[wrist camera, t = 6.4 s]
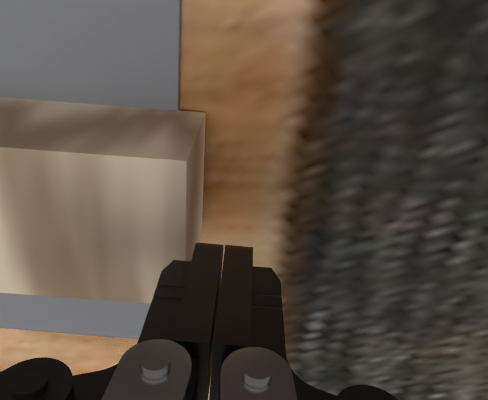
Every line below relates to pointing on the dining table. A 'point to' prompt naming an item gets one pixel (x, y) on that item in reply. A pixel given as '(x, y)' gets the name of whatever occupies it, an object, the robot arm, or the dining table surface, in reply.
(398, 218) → the dining table surface
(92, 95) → the mat
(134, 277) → the birch block
